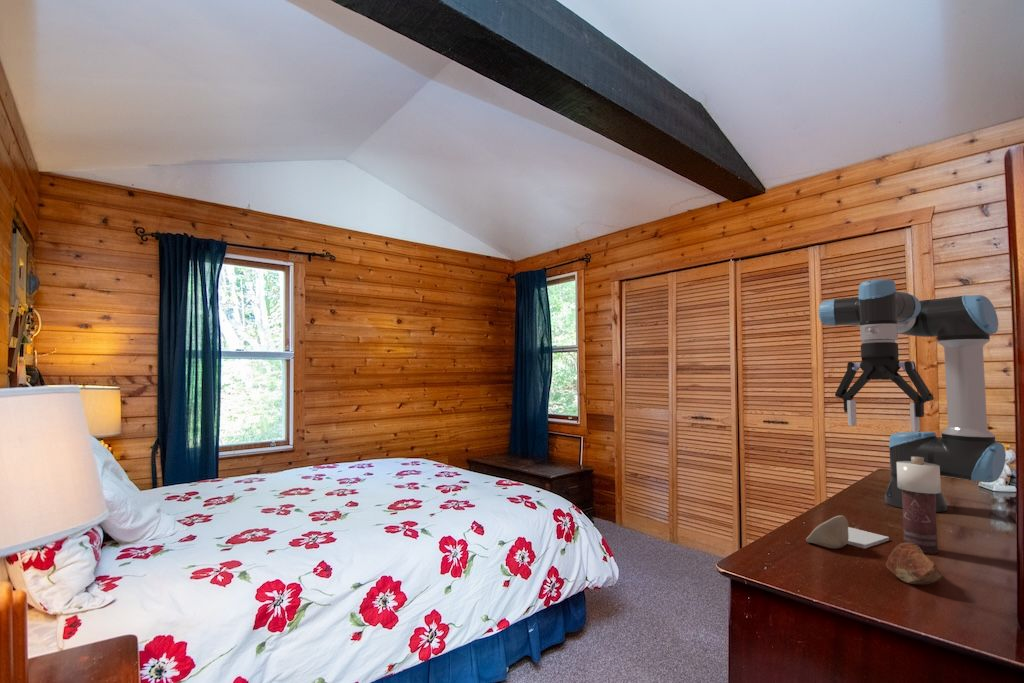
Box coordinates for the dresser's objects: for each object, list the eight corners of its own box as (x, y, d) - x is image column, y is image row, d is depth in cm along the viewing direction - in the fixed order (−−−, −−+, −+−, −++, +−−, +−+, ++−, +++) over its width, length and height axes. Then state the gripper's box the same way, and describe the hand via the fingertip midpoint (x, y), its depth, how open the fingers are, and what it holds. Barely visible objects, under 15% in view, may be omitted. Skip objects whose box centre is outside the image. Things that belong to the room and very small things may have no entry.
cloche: (906, 484, 123) (905, 453, 124) (947, 491, 117) (945, 458, 117) (891, 487, 119) (889, 456, 120) (931, 495, 113) (930, 461, 113)
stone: (807, 542, 126) (830, 510, 126) (835, 562, 121) (859, 528, 121) (803, 538, 118) (828, 504, 118) (833, 559, 113) (859, 524, 113)
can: (945, 555, 114) (942, 493, 114) (913, 553, 115) (911, 491, 116) (928, 546, 119) (926, 487, 120) (899, 544, 121) (896, 486, 122)
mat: (837, 527, 134) (837, 524, 134) (889, 540, 124) (889, 537, 124) (812, 534, 128) (812, 531, 128) (864, 548, 118) (864, 545, 118)
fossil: (888, 546, 109) (910, 516, 104) (933, 572, 104) (959, 542, 99) (874, 583, 101) (898, 552, 96) (922, 613, 96) (950, 582, 91)
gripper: (818, 344, 132) (821, 424, 131) (934, 338, 111) (938, 434, 110) (834, 345, 136) (836, 422, 135) (948, 340, 115) (953, 432, 113)
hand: (882, 428), depth 122 cm, fingers open, 13 cm apart
